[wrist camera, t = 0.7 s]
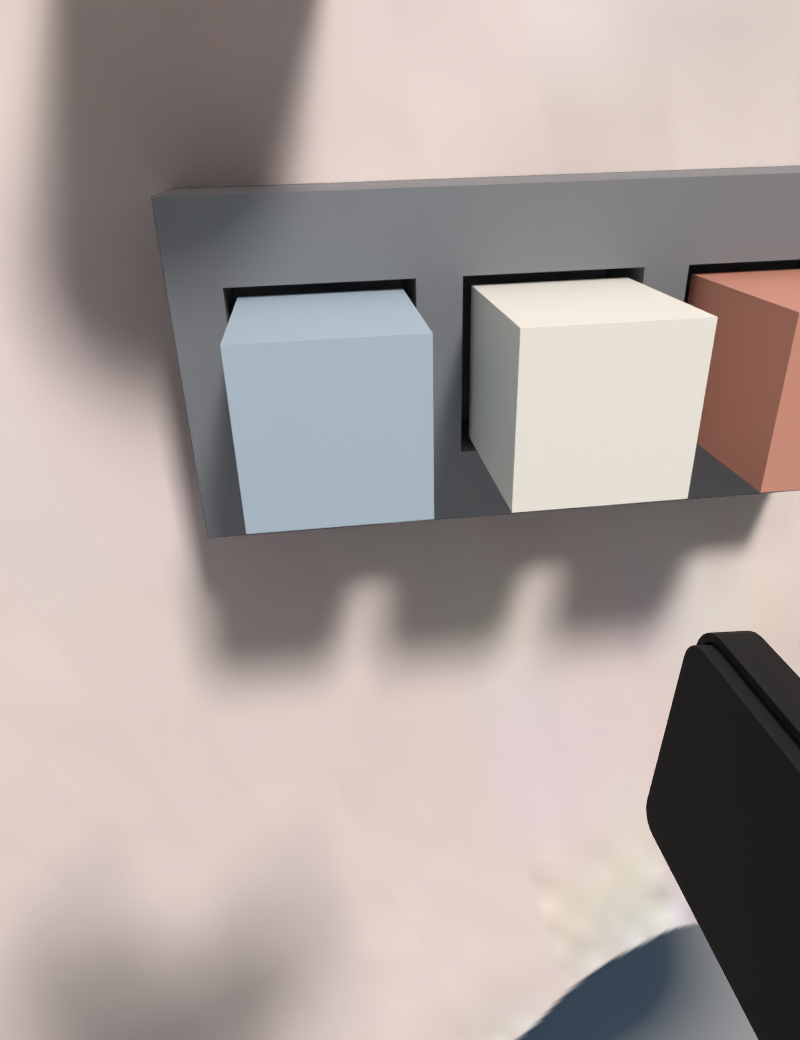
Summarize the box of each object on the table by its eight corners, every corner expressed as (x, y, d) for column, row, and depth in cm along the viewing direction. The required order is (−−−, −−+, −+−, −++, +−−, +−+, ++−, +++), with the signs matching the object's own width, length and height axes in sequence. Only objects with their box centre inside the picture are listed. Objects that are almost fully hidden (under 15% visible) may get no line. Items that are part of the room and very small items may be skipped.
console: (854, 163, 29) (931, 167, 26) (788, 450, 35) (844, 486, 31) (170, 189, 27) (150, 197, 23) (217, 493, 32) (207, 538, 29)
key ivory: (626, 276, 26) (717, 317, 21) (610, 426, 29) (687, 498, 23) (471, 285, 26) (520, 327, 20) (468, 436, 29) (511, 512, 23)
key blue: (402, 288, 26) (432, 332, 20) (406, 440, 28) (434, 519, 23) (237, 297, 25) (220, 345, 19) (256, 451, 28) (246, 534, 22)
